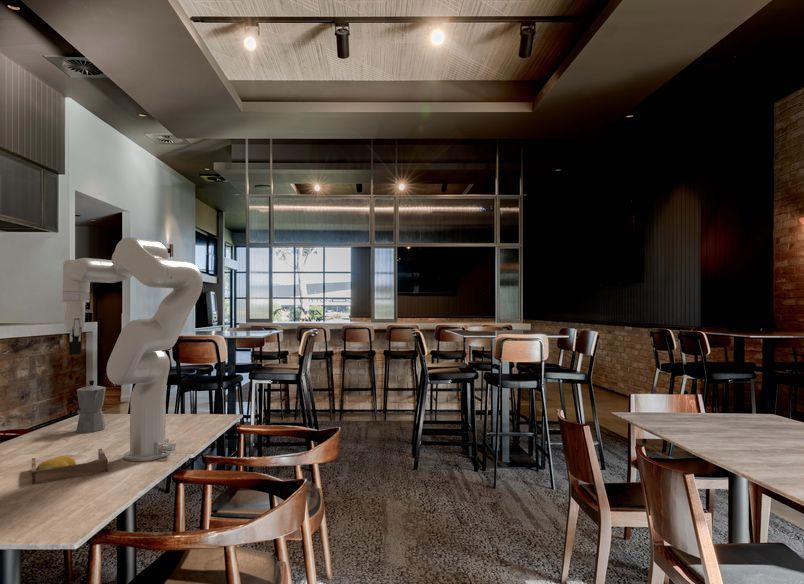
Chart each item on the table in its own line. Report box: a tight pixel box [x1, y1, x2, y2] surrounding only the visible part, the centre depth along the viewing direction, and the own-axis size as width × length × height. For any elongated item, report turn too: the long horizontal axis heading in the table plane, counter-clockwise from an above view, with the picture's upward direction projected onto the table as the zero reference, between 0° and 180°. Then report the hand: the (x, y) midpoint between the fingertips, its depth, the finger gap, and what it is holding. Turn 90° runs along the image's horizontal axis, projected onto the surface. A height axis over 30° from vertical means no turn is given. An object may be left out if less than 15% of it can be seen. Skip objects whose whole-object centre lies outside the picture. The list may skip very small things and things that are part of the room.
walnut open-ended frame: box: [31, 448, 109, 485], centre depth 139 cm, size 15×17×3 cm
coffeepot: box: [76, 379, 107, 434], centre depth 188 cm, size 15×9×18 cm, turn 44°
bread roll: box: [36, 455, 77, 471], centre depth 139 cm, size 8×9×4 cm
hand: (74, 354), depth 167 cm, fingers closed
